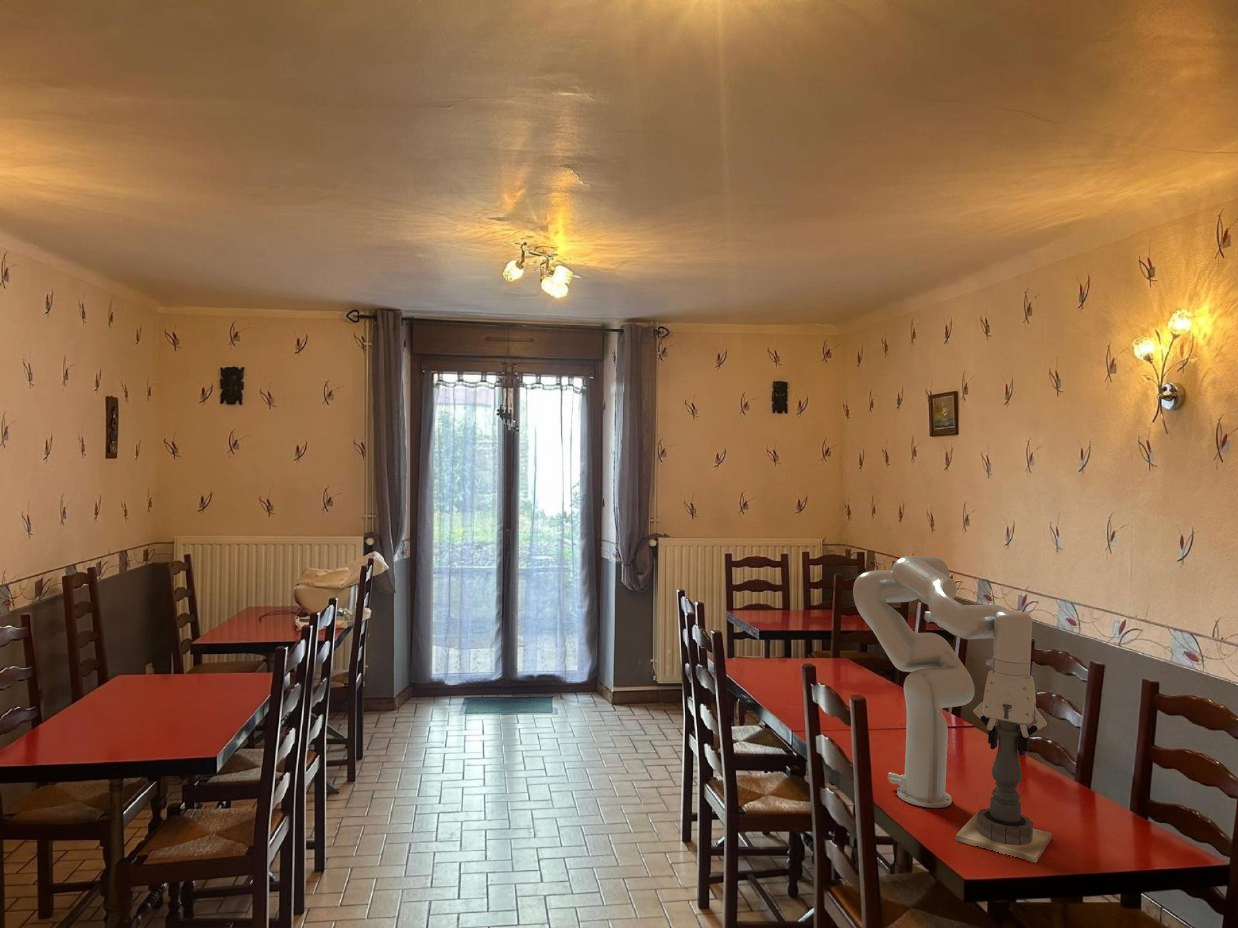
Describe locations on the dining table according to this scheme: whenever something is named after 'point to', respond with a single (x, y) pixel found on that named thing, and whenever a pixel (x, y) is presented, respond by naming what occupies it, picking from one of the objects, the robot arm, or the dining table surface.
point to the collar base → (1005, 836)
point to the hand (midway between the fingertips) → (1007, 749)
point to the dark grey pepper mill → (1006, 772)
